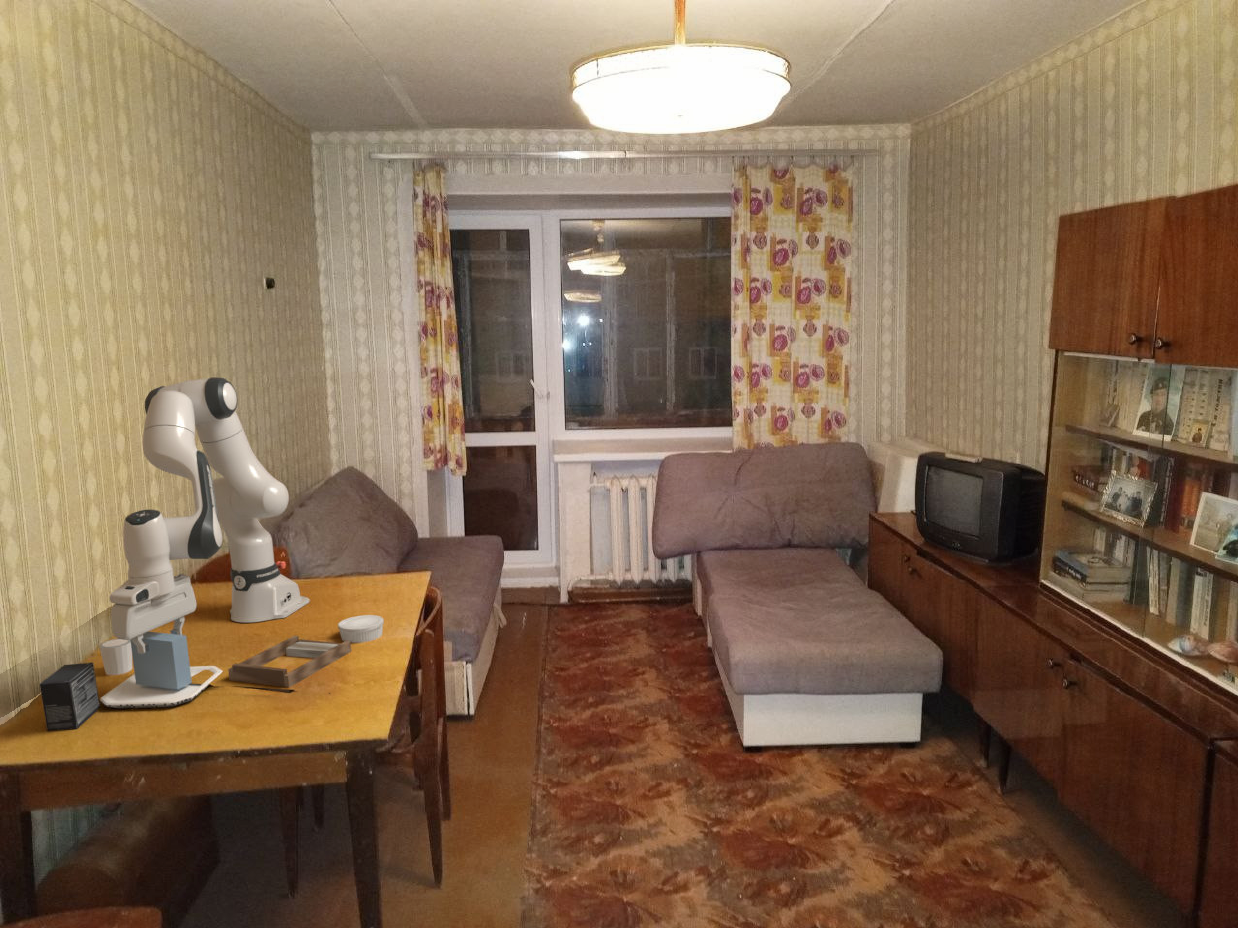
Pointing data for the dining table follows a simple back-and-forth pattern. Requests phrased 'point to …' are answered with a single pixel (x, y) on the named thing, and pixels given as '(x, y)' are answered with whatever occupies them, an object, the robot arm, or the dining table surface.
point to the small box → (70, 696)
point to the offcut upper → (308, 649)
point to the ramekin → (361, 628)
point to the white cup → (116, 656)
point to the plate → (155, 692)
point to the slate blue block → (162, 661)
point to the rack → (259, 674)
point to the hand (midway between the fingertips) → (160, 644)
